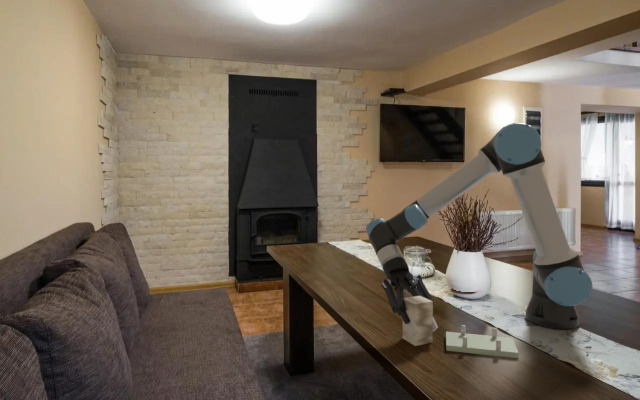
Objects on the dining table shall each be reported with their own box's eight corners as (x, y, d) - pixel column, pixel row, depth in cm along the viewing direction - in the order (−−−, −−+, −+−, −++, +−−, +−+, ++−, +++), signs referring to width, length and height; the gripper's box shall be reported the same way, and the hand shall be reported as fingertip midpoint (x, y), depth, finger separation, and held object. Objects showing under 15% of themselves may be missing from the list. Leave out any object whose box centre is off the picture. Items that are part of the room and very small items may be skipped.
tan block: (419, 334, 124) (419, 295, 124) (432, 342, 119) (432, 301, 118) (402, 338, 122) (402, 298, 121) (415, 346, 117) (415, 304, 116)
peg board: (512, 343, 118) (512, 329, 118) (518, 358, 108) (518, 343, 108) (445, 336, 123) (446, 323, 123) (446, 350, 114) (446, 336, 113)
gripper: (412, 266, 137) (445, 331, 123) (362, 272, 129) (391, 343, 116) (423, 253, 132) (458, 320, 118) (371, 258, 124) (402, 331, 110)
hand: (425, 331), depth 117 cm, fingers closed on tan block, 6 cm apart
